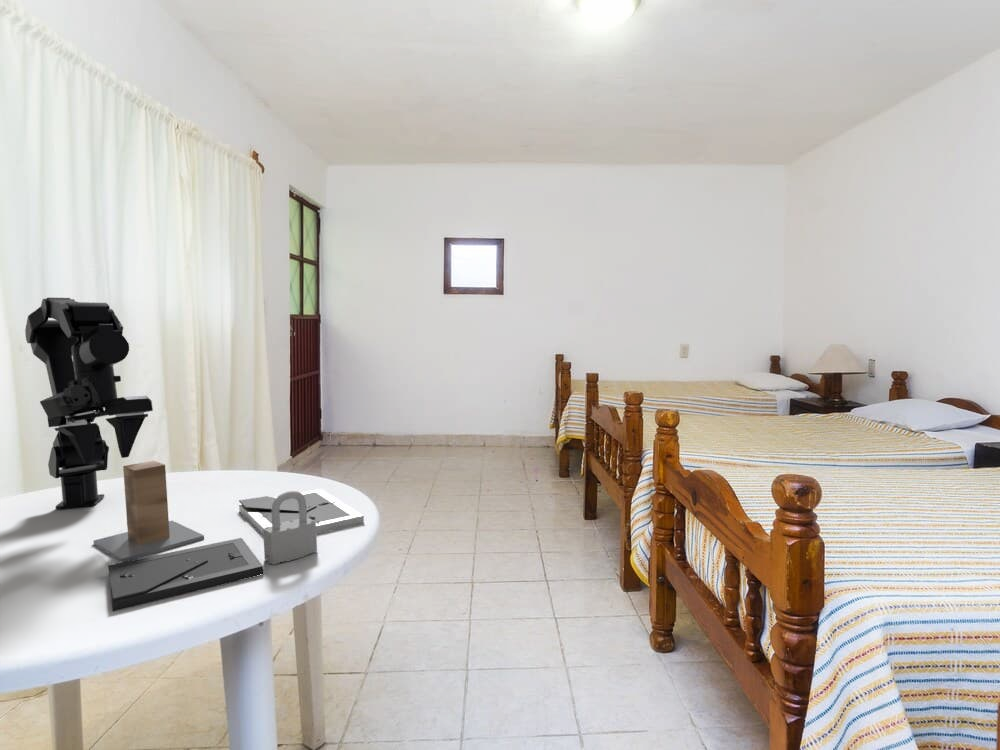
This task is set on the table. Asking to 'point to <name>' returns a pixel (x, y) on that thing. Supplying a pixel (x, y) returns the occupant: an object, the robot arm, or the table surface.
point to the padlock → (289, 532)
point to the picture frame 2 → (318, 507)
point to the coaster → (129, 550)
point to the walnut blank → (146, 502)
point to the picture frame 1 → (180, 572)
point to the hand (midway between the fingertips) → (106, 460)
